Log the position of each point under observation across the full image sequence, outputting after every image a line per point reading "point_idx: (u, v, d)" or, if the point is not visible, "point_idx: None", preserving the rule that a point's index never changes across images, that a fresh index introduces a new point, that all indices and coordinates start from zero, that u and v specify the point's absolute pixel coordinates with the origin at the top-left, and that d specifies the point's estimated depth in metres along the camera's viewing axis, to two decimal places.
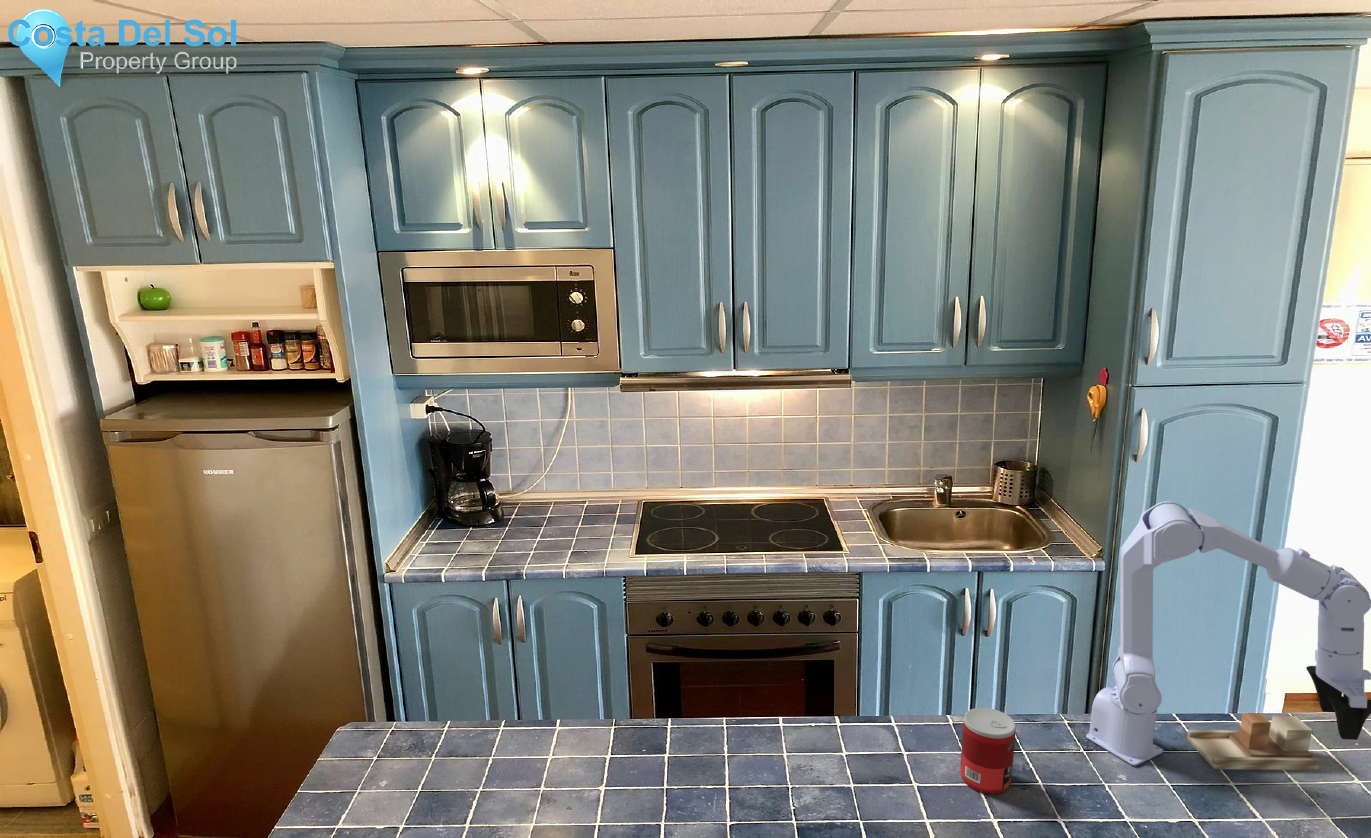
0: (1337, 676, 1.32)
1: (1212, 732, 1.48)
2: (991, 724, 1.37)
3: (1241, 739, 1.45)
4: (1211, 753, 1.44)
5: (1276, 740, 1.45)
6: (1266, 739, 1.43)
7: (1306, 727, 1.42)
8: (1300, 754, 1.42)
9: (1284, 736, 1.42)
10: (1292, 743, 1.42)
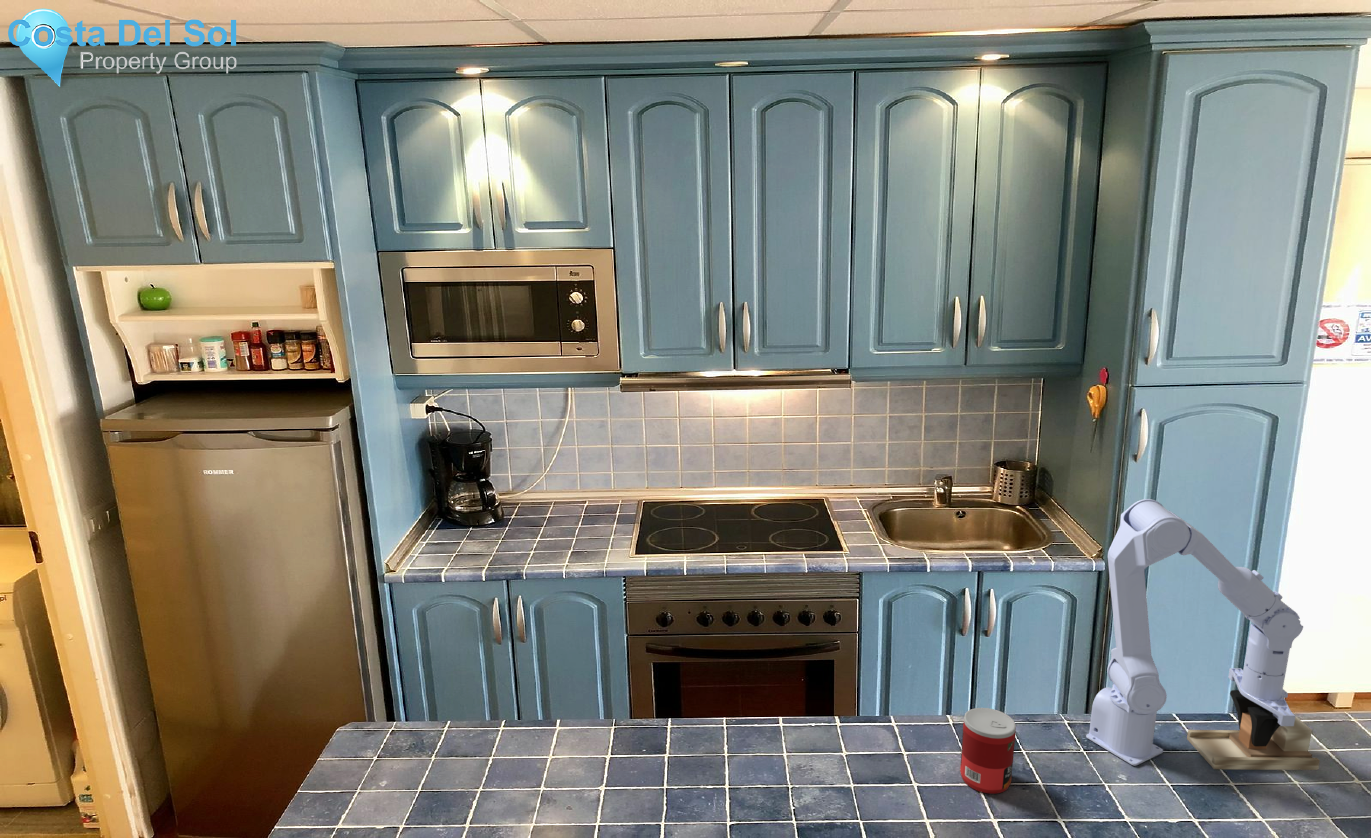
0: (1264, 696, 1.40)
1: (1212, 732, 1.48)
2: (991, 724, 1.37)
3: (1241, 739, 1.45)
4: (1211, 753, 1.44)
5: (1276, 740, 1.45)
6: None
7: (1306, 727, 1.42)
8: (1300, 754, 1.42)
9: (1284, 736, 1.42)
10: (1292, 743, 1.42)
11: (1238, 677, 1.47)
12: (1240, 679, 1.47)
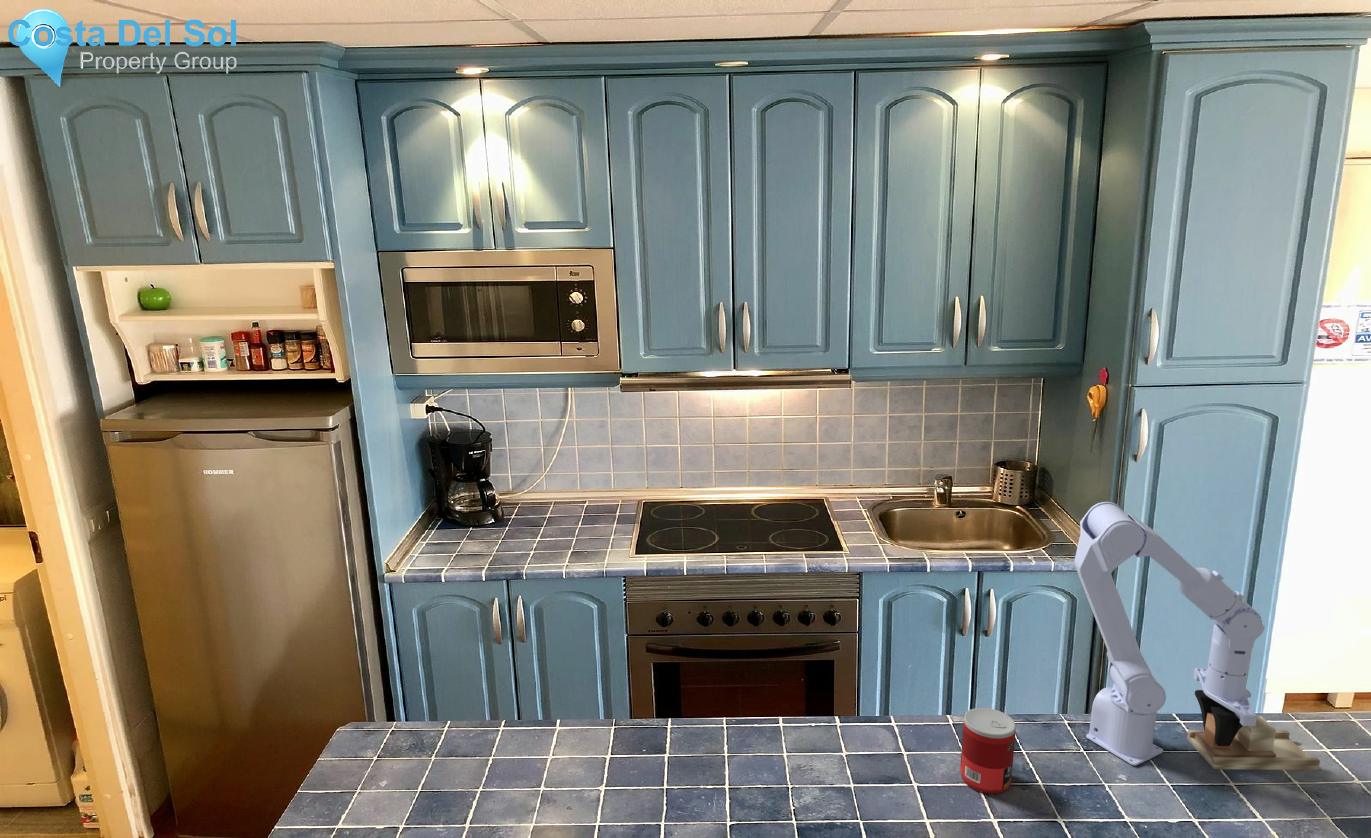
0: (1226, 695, 1.40)
1: None
2: (991, 724, 1.37)
3: (1206, 738, 1.45)
4: None
5: (1241, 740, 1.45)
6: None
7: (1270, 727, 1.43)
8: (1264, 754, 1.42)
9: (1249, 735, 1.43)
10: (1256, 743, 1.42)
11: (1203, 677, 1.47)
12: (1205, 679, 1.47)
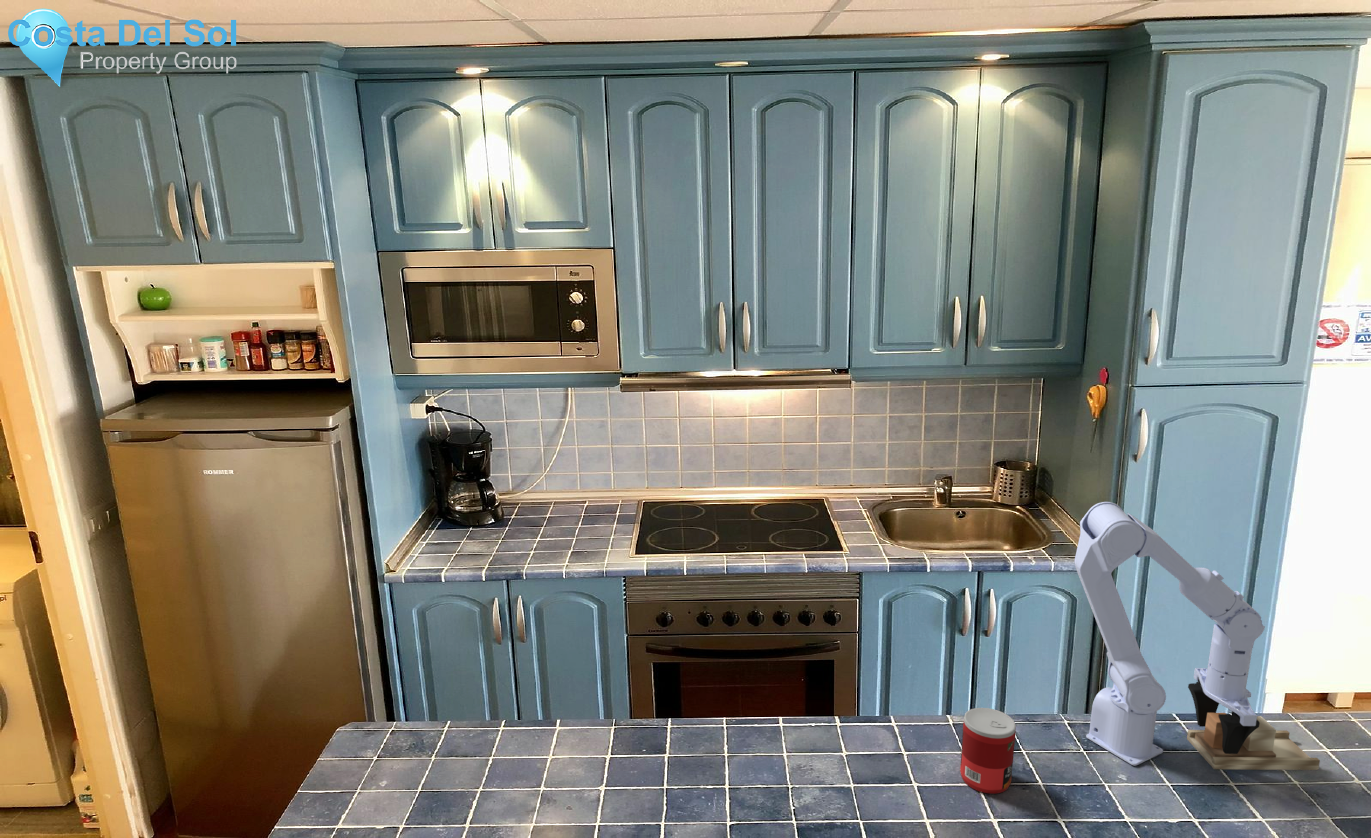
0: (1226, 695, 1.40)
1: None
2: (991, 724, 1.37)
3: (1206, 738, 1.45)
4: None
5: None
6: None
7: (1270, 727, 1.43)
8: (1264, 754, 1.42)
9: (1249, 735, 1.43)
10: (1256, 743, 1.42)
11: (1203, 677, 1.47)
12: (1205, 679, 1.47)
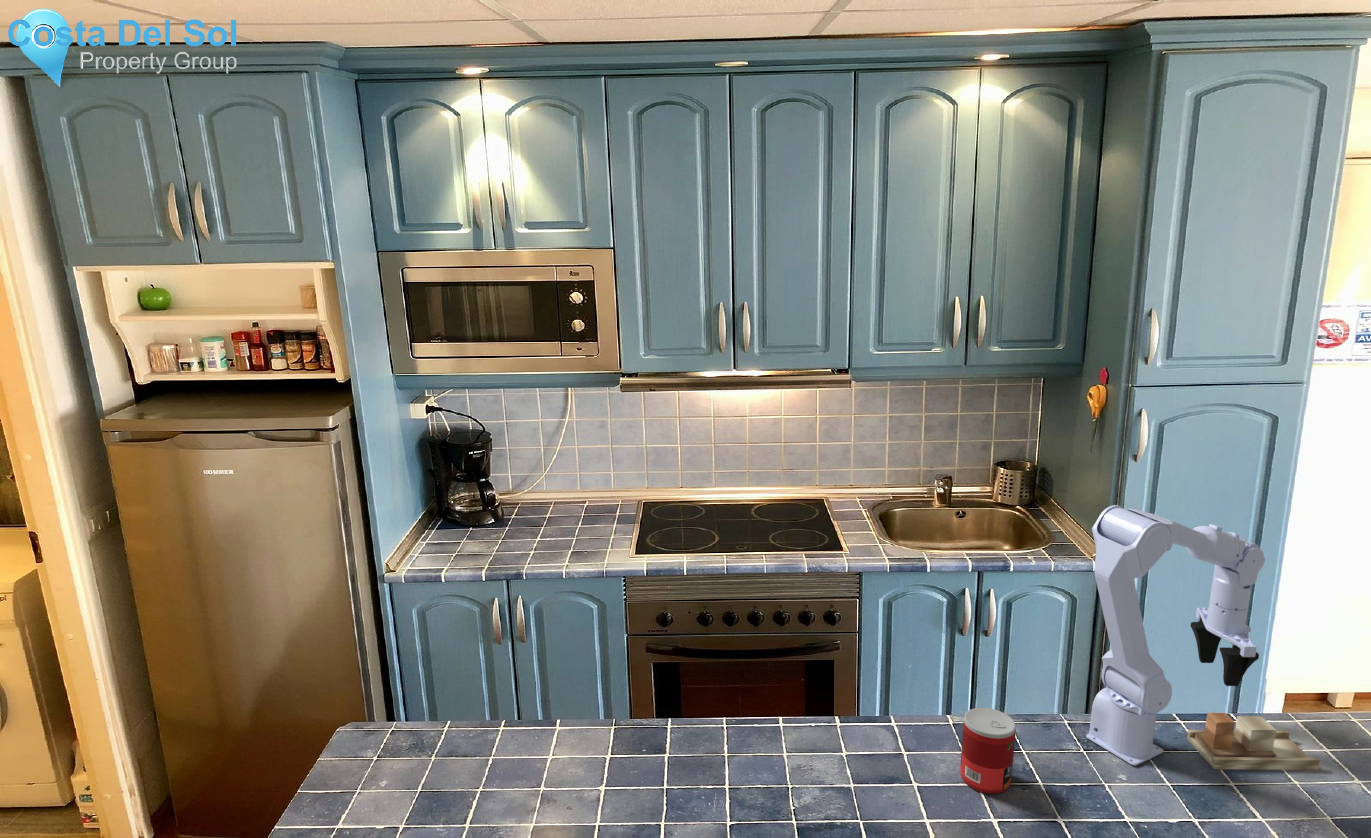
0: (1227, 630, 1.46)
1: None
2: (991, 724, 1.37)
3: (1206, 738, 1.45)
4: None
5: (1241, 740, 1.45)
6: (1230, 739, 1.43)
7: (1270, 727, 1.43)
8: (1264, 754, 1.42)
9: (1249, 735, 1.43)
10: (1256, 743, 1.42)
11: (1204, 615, 1.53)
12: (1206, 617, 1.53)
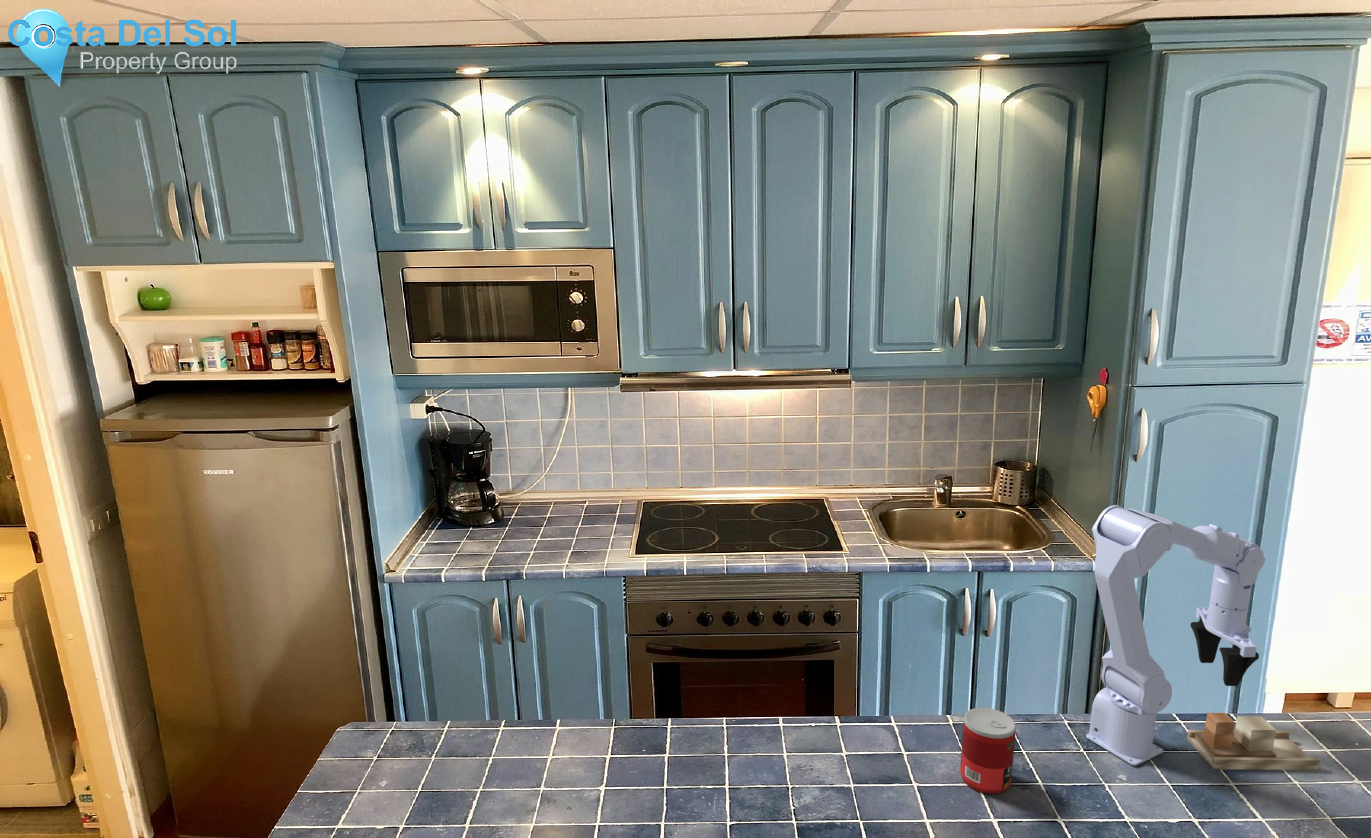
0: (1227, 630, 1.46)
1: None
2: (991, 724, 1.37)
3: (1206, 738, 1.45)
4: None
5: (1241, 740, 1.45)
6: (1230, 739, 1.43)
7: (1270, 727, 1.43)
8: (1264, 754, 1.42)
9: (1249, 735, 1.43)
10: (1256, 743, 1.42)
11: (1204, 615, 1.53)
12: (1206, 617, 1.53)
